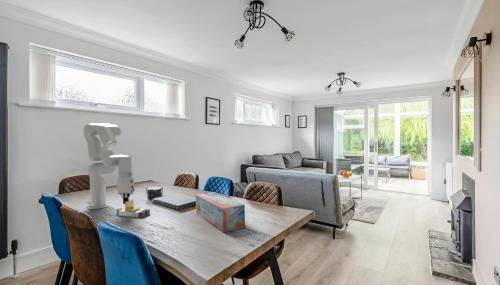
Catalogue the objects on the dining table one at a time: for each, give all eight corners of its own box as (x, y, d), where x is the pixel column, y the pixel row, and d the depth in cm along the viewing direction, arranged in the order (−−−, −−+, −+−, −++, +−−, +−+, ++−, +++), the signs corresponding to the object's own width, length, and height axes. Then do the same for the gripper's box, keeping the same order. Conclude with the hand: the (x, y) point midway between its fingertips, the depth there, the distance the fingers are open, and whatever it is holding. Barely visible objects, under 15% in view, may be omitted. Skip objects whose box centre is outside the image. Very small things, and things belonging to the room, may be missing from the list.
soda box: (246, 228, 132) (246, 204, 132) (223, 234, 125) (223, 208, 124) (214, 209, 167) (214, 190, 166) (194, 213, 159) (194, 193, 159)
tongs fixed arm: (123, 214, 158) (122, 209, 158) (126, 212, 161) (126, 208, 161) (146, 215, 155) (146, 210, 154) (149, 214, 157) (149, 209, 157)
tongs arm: (113, 215, 156) (113, 210, 156) (119, 213, 161) (119, 208, 161) (142, 217, 151) (142, 212, 151) (147, 215, 155) (147, 210, 155)
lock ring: (124, 210, 154) (124, 202, 153) (132, 207, 161) (132, 199, 160) (133, 211, 152) (133, 202, 152) (140, 208, 159) (140, 199, 159)
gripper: (139, 174, 159) (140, 202, 159) (119, 174, 162) (120, 201, 163) (131, 176, 152) (131, 205, 152) (110, 175, 155) (111, 204, 155)
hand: (125, 203), depth 157 cm, fingers closed
